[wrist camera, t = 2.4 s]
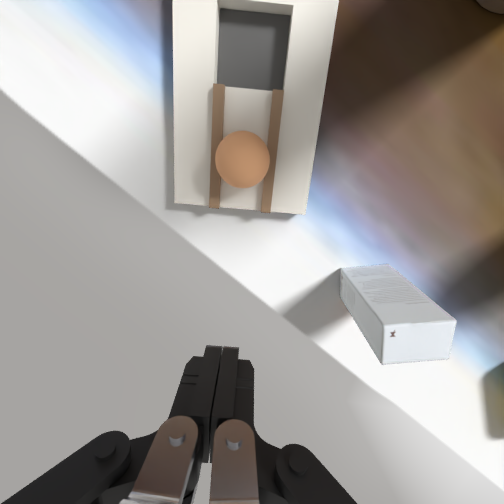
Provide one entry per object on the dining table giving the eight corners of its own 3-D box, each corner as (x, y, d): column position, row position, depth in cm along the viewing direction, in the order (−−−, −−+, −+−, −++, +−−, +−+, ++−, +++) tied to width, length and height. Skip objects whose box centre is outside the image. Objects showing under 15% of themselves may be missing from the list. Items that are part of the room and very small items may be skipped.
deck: (178, -28, 24) (169, -50, 21) (335, -11, 24) (345, -31, 22) (179, 199, 31) (172, 204, 28) (302, 210, 31) (306, 216, 28)
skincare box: (339, 297, 35) (379, 366, 24) (339, 266, 33) (382, 324, 22) (387, 293, 35) (451, 361, 23) (389, 262, 33) (459, 318, 22)
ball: (220, 130, 27) (212, 125, 22) (271, 135, 27) (274, 131, 22) (217, 182, 28) (210, 188, 24) (265, 187, 28) (267, 194, 24)
